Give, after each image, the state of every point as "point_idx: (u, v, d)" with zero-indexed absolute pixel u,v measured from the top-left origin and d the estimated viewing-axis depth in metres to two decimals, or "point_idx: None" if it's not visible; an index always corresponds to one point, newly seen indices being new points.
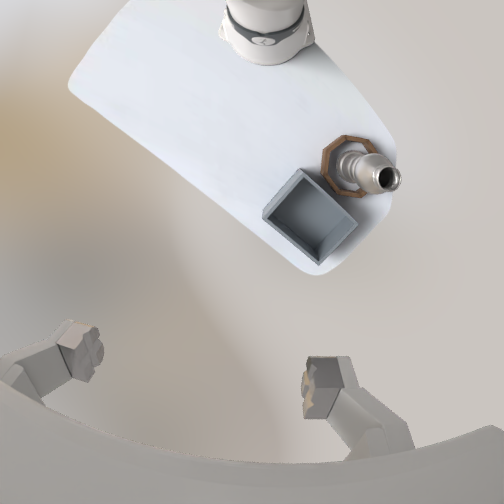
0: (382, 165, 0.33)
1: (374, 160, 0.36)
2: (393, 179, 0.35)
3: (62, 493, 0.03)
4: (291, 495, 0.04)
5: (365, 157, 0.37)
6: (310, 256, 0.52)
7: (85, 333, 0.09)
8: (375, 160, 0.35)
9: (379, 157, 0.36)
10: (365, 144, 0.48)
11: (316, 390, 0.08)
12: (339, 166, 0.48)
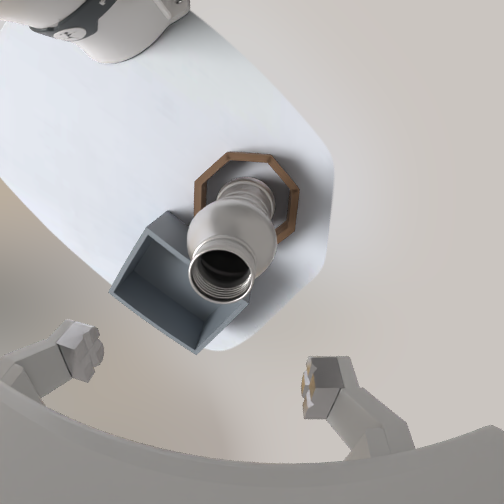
0: (208, 242, 0.16)
1: (212, 220, 0.18)
2: None
3: (62, 493, 0.03)
4: (291, 495, 0.04)
5: (201, 212, 0.19)
6: (181, 343, 0.34)
7: (85, 333, 0.09)
8: (212, 222, 0.18)
9: (227, 212, 0.18)
10: None
11: (316, 390, 0.08)
12: None
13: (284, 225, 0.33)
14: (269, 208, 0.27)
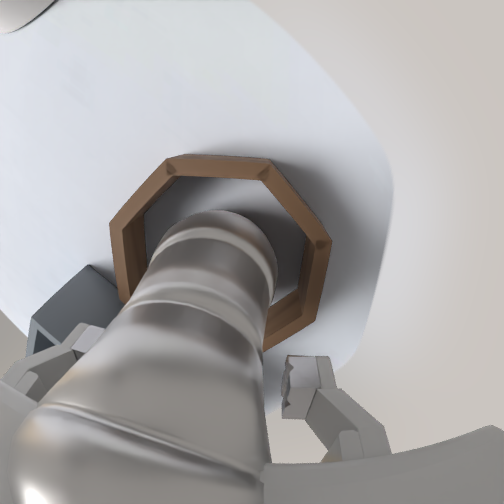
0: None
1: None
2: None
3: None
4: (291, 495, 0.04)
5: (10, 455, 0.03)
6: None
7: None
8: None
9: None
10: None
11: (291, 389, 0.08)
12: None
13: (294, 304, 0.17)
14: (263, 309, 0.11)
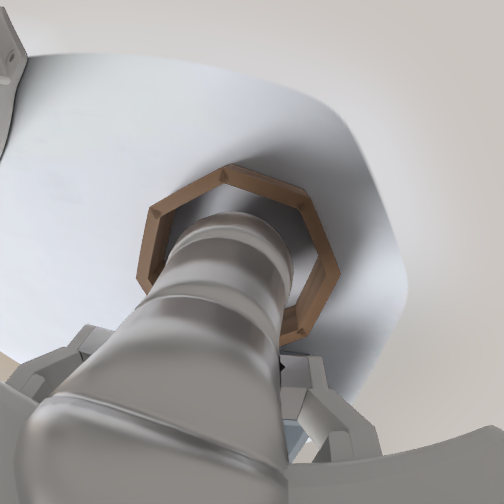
0: None
1: None
2: None
3: None
4: (291, 495, 0.04)
5: (17, 444, 0.03)
6: None
7: None
8: None
9: None
10: None
11: (282, 389, 0.08)
12: None
13: (319, 269, 0.17)
14: (279, 305, 0.11)
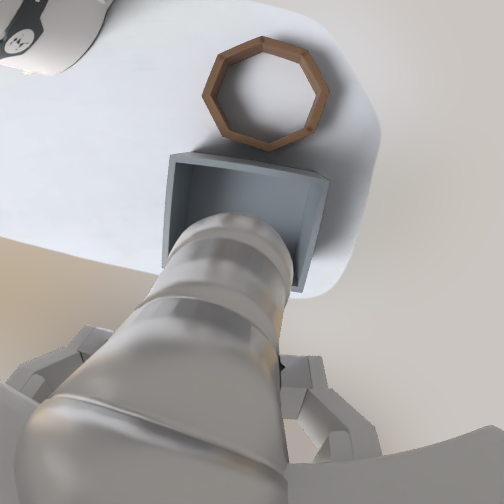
0: None
1: None
2: None
3: None
4: (291, 495, 0.04)
5: (17, 445, 0.03)
6: None
7: None
8: None
9: None
10: (265, 47, 0.23)
11: (282, 389, 0.08)
12: None
13: (317, 96, 0.25)
14: (279, 305, 0.11)
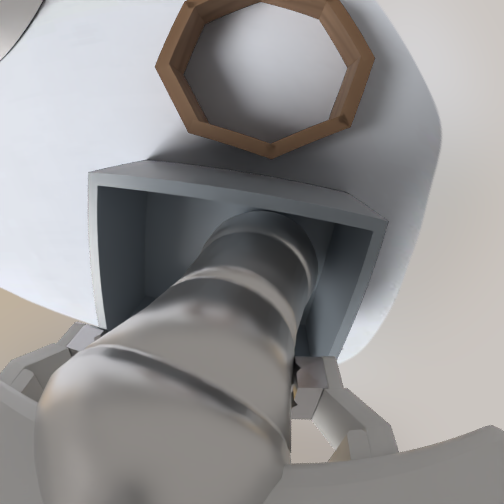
0: None
1: (47, 447, 0.03)
2: None
3: None
4: (291, 495, 0.04)
5: (45, 389, 0.04)
6: None
7: (97, 336, 0.09)
8: (42, 459, 0.03)
9: (74, 444, 0.03)
10: None
11: (299, 390, 0.08)
12: None
13: (352, 67, 0.13)
14: (300, 296, 0.11)
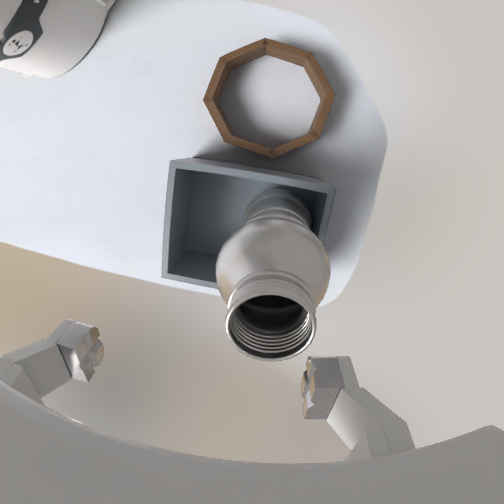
0: (251, 282, 0.11)
1: (251, 248, 0.14)
2: (304, 308, 0.13)
3: (62, 493, 0.03)
4: (291, 495, 0.04)
5: (234, 237, 0.15)
6: None
7: (85, 333, 0.09)
8: (251, 251, 0.13)
9: (270, 236, 0.14)
10: (268, 50, 0.23)
11: (316, 390, 0.08)
12: None
13: (322, 100, 0.24)
14: (308, 225, 0.23)
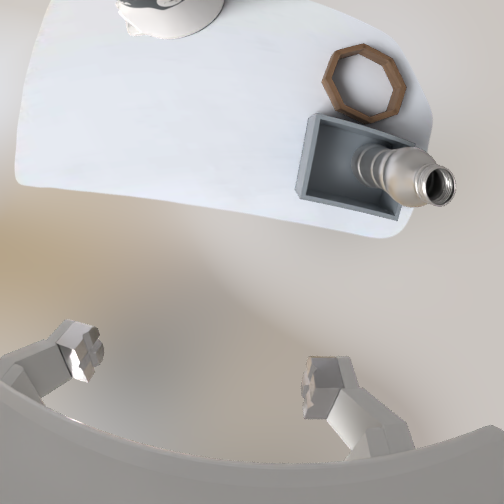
0: (429, 165, 0.20)
1: (413, 157, 0.22)
2: (442, 186, 0.21)
3: (62, 493, 0.03)
4: (291, 495, 0.04)
5: (399, 153, 0.23)
6: (382, 214, 0.34)
7: (85, 333, 0.09)
8: (415, 158, 0.22)
9: (419, 153, 0.22)
10: (363, 51, 0.30)
11: (316, 390, 0.08)
12: (356, 166, 0.34)
13: (396, 89, 0.32)
14: None
